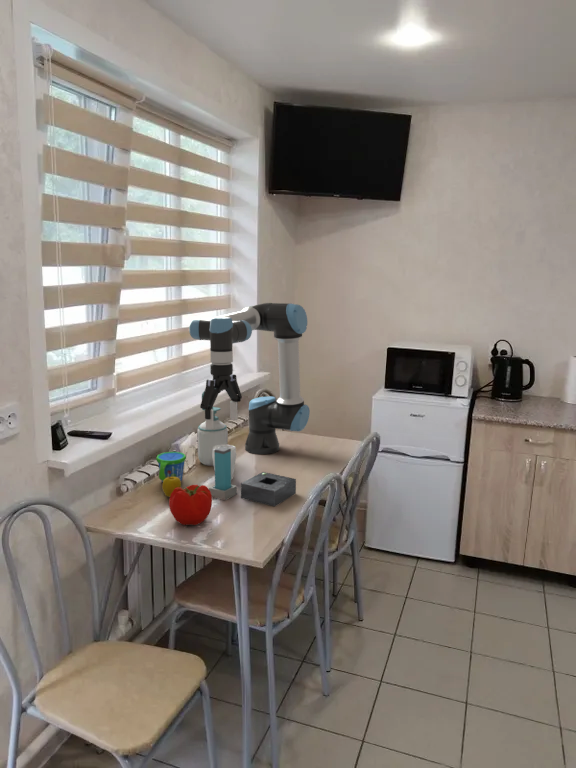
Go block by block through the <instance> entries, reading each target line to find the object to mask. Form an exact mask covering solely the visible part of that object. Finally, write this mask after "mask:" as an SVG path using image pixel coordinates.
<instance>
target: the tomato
mask: <svg viewBox="0 0 576 768" xmlns="http://www.w3.org/2000/svg"><path fill="white" fill-rule="evenodd" d="M168 501H169V503H168V506H169V511H170V512H171V515H172V517H173V518H174V519H175V521H176V522H178V523H179V524H180V525H183V526H190V525H192V526H197V525H200V524H201V523H203V522H204V521H205V520H206V519H207V518H208V517H209V515H210V513H211V511H212V506H213V505H212V504H213V497H212V495H211V492H210V490H209V488H208V486H206V485H204V484H202V485H201V484H200V485H198V484H191V485H188V486H186V487H183V486H182V487H181V488H180V487H178V488H175V489H174V490H173V492H172V493H171V496H170V497H169V499H168Z"/></svg>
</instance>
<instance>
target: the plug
mask: <svg viewBox="0 0 576 768" xmlns="http://www.w3.org/2000/svg"><path fill="white" fill-rule="evenodd" d="M214 485H215V489H219V490H223V491H225V490H227V489H229V488H231V485H232V479H231V448H226V447H219V448H217V449H215V470H214Z"/></svg>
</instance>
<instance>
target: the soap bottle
mask: <svg viewBox="0 0 576 768" xmlns="http://www.w3.org/2000/svg"><path fill="white" fill-rule="evenodd" d="M204 392H205V390H204V391H202V393H201V400H202V399H203V395H204ZM201 410H202V411H204V412H205V409H202V408H201ZM212 410H213V423H214V429H210V428H206V420H205V421H204V422H202V423H200V425H198V427H197V432H196V434H197V458H198V460H199V462H200V463H201V464H203V465H205V466H208V467H214V464H213V457H212V453H213V447H214V446H217V445H224V444H226V445H229V440H228V439H229V437H228V435H229V434H228V432H229V431H228V428H227V425H226V424H225V423H223V422H222V421H221V420H219V416H216V414H217V411H220V410H221V407H215V406H213V407H212Z"/></svg>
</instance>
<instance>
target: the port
mask: <svg viewBox="0 0 576 768" xmlns="http://www.w3.org/2000/svg"><path fill="white" fill-rule="evenodd" d="M296 493H297V478H293V477H288V476H284V475H280V474H275V473H271V472H266V471H262V472H260V473H258V474H256V475H254V476H252V477H250V478H248V479H246V480H244V481H242V482H241V483H240V499H243V500H246V501H250V502H254V503H259V504H262V505H267V506H270V507H277V506H278V505H280V504H281V503H283V502H285V501H286V500H288V499H289V498H291V497H293V496H295V495H297V494H296Z"/></svg>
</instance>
